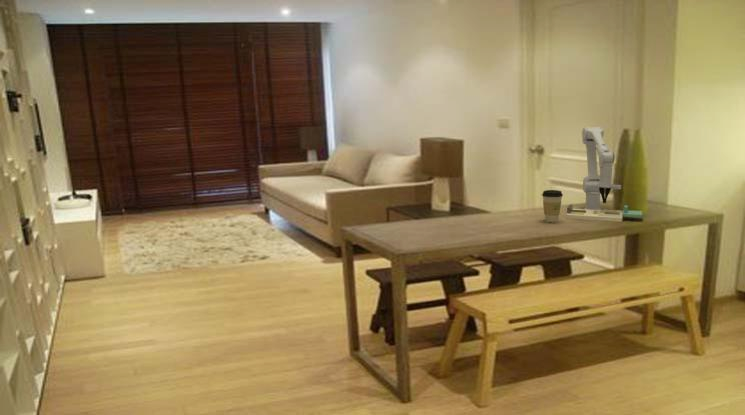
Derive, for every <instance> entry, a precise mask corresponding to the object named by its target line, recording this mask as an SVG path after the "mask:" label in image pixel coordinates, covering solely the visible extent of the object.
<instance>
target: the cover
mask: <svg viewBox="0 0 745 415" xmlns="http://www.w3.org/2000/svg"><path fill="white" fill-rule="evenodd" d="M628 207H629V206H628V205H623V210H622V211H623V212H622V216H623V217H629V218H631V217H632V218H633V217H634V218H643V211H642V210H629V209H628Z"/></svg>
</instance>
